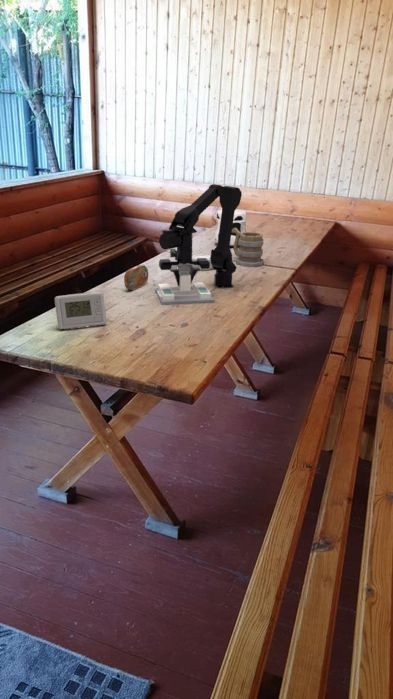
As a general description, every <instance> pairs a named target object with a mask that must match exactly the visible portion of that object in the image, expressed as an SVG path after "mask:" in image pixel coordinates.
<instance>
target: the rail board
mask: <svg viewBox="0 0 393 699" xmlns="http://www.w3.org/2000/svg"><path fill="white" fill-rule="evenodd" d="M154 291H155V293H156V295H157V297H158V299H159V302H160V303H161V305H164V306H165V305H166V306H167V305H183V304H185V305H186V304H188V305H189V304H206V303H207V304H209V303H215V298H214V297H213V296H212V294H211V291H210V290H209V289H208V288H207V286H206V285H205V284H204V283H203V281H202V282H199V281H198V282H192V286H191V291H180V290H179V288H178V286H171V287H170V284H169V283H158V284H157V287H155V288H154Z"/></svg>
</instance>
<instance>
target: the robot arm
mask: <svg viewBox="0 0 393 699" xmlns="http://www.w3.org/2000/svg"><path fill="white" fill-rule="evenodd" d="M217 199H219V200H218V202H219V204H220V207H221V210H222V214H221V222H220V229H219V236H218V244H217V243H216V247H215V248H214V249H213V248H212V249H211V250H210V255H211V257H210V259H211V264H212V269H213V271H214V270H215V273H214V277H213V278H214V279H213V282H214V285H215V286H216V287H217V288H233V287H234V286H233V274H234V273H236V272H237V268H238V267H237V265H236V263H234V261H233V254H232V250H231V247H230V240H231V233H232V226H233V219H234V212H235V210H236V209H237V208H238V207H239V206H240V203H241V199H242V191H241V189H240V188H239V187H236V186H229V185H221V184H215V183H212V184H210V185H209V186H208V188H207V189H206V190H205V191H204V192H203V193H201V195H200V196H199V197H198V198H197V199H195V201H193V202H192V203H191V204H190V205H188V206H185V207H183V208H181V209H179V210H178V211H176V213H175V214H174V218H173V219H172V221H171V223H170V225H169V226H168V229H163V230H162V234H160V236H159V238H158V243H159V246H160V248H161V249H162V250H169V251H170V253H169V255H170V258H174V260H175V261H171V259H170V258H167V259H166V258H165V259H162V258H161V259H160V260H159V261H158V267H159V269H160V271H170V272H171V273H173V275H174V278H175V280H176V284H177V287H178V286H179V270H178V266H190V275H191V284H193V280H194V278H195V277H196V275H197V273H198V272H200V271H201V270H200V269H199V267H201V268H202V269H209V268H210V262H209V261H208V260H207V259H206V258H197V261H192V255H193V234H196V233H197V232H198V231H197V229H195V225H196V224H197V223H198V222H199V218H200V215H202V214H203V212H205V210H206V209H207V208H209V206H210V205H211V204H213V203H214V202H215V201H216V200H217Z"/></svg>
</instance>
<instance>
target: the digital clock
mask: <svg viewBox="0 0 393 699" xmlns="http://www.w3.org/2000/svg"><path fill="white" fill-rule="evenodd" d="M104 298H105V297H104V293H103V291H95V292H90V291H89V292H80V293H71V294H66V295H58V296H57V295H56V296H55V297H54V305H55V313H56V320H57V327H58V330H60V329H64V330H70V329H69V328H78V327H86V326H95V327H97V325H98V326H104V325H106V324H107V322H108V321H107V312H106V311H107V310H106V306H105V299H104Z"/></svg>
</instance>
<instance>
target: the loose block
mask: <svg viewBox="0 0 393 699" xmlns="http://www.w3.org/2000/svg"><path fill="white" fill-rule="evenodd" d="M177 269H178V270H179V272H187V271H188V272H189V274H190V266H178V267H177Z"/></svg>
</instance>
